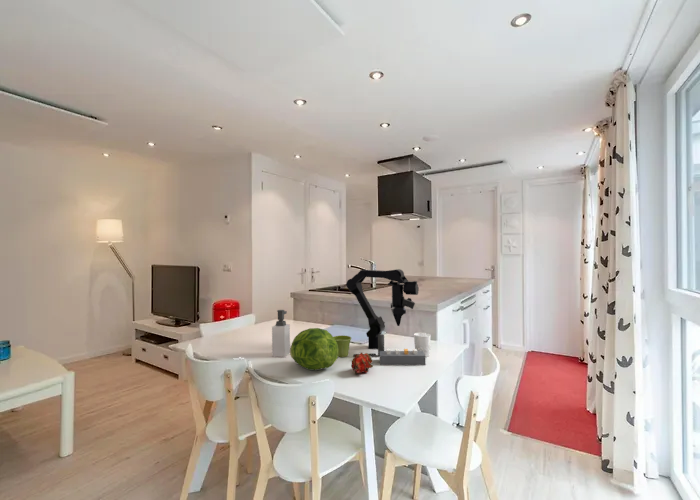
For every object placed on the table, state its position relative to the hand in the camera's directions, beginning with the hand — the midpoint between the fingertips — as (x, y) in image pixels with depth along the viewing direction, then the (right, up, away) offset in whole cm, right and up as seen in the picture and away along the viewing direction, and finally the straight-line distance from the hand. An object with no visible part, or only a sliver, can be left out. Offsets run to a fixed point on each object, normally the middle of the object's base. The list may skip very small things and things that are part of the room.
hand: (398, 324), depth 169 cm
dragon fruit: (-20, -13, -30) cm, 38 cm away
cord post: (-9, -13, -8) cm, 18 cm away
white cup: (+11, -13, -8) cm, 19 cm away
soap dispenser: (-58, -14, -4) cm, 60 cm away
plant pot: (-28, -14, -7) cm, 32 cm away
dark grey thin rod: (-17, -13, -9) cm, 24 cm away
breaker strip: (-1, -13, -18) cm, 22 cm away
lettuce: (-41, -14, -23) cm, 49 cm away
